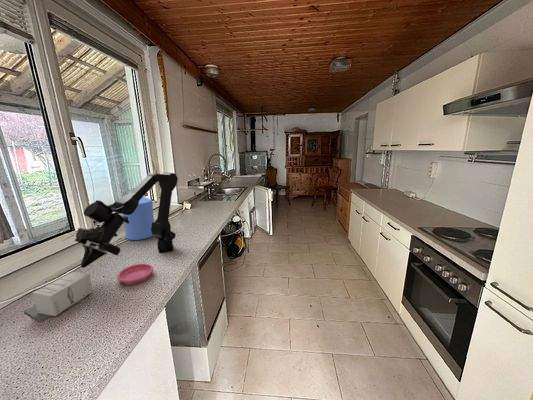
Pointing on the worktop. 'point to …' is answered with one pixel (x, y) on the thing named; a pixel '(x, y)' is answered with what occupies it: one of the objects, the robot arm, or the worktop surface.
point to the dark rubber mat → (38, 316)
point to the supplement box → (62, 293)
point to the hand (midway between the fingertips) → (82, 267)
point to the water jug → (140, 221)
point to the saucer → (135, 274)
